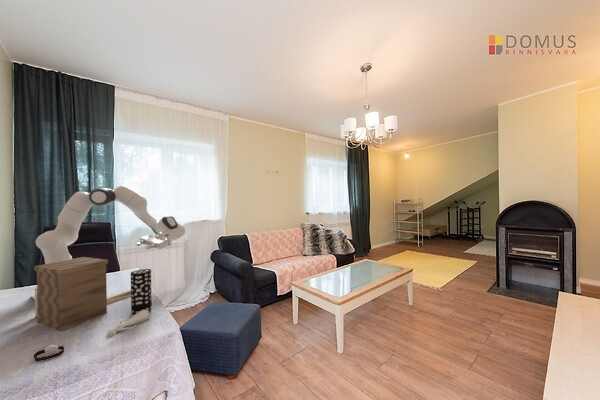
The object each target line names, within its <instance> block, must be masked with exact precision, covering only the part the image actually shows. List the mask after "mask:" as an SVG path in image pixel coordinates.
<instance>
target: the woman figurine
mask: <svg viewBox="0 0 600 400" xmlns="http://www.w3.org/2000/svg"><path fill="white" fill-rule="evenodd" d="M148 312H149V309H148V310H147V311H146V310H141V311H140V312H138V313H137V314H135V315H134V316H131V317H130V318H129V319H126V321H125V322H124V323H122V320H120V321H119V323H118V324H116V326H115V327H114V328H112V329H109V330H107V332H106V336H107V337H112V336H115V335H116V334H117V332H118V333H119V332H122V331H125V330H129V329H133V328H137V327H139V324H140V322H141V323H144V322H146V321H148V320H149V319H150V315H151V314H152V313H153V309H152V310H151V311H150V312H149V313H148ZM147 319H148V320H147Z"/></svg>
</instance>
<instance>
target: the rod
mask: <svg viewBox="0 0 600 400" xmlns="http://www.w3.org/2000/svg"><path fill="white" fill-rule="evenodd" d="M128 297H131V288H130V289H127V290H124V291H121V292H119V293H115V294H112V295H110V296H107V305H109V304H112V303H114V302H116V301H119V300H122V299H125V298H128Z"/></svg>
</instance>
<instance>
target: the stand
mask: <svg viewBox="0 0 600 400" xmlns="http://www.w3.org/2000/svg"><path fill="white" fill-rule="evenodd" d="M108 264H109V259H103V258H95V257H88V256H80V257H77V258H72V259H71V260H65V261H60V262H55V263H49V264H39V265H35V266H34V271H35V272H36V288H37V317H36V318H37V324H38V325H40V326H44V327H46V328H47V327H48V328H49V329H53V330H56V331H59V332H63V331H66V330H67V329H70V328H74V327H75V326H78V325H80V324H83V323H86V322H88V321H90V320H93V319H96V318H97V317H100V316H103V315H106V314H107V313H108V304H107V297H108V295H107V265H108Z"/></svg>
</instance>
